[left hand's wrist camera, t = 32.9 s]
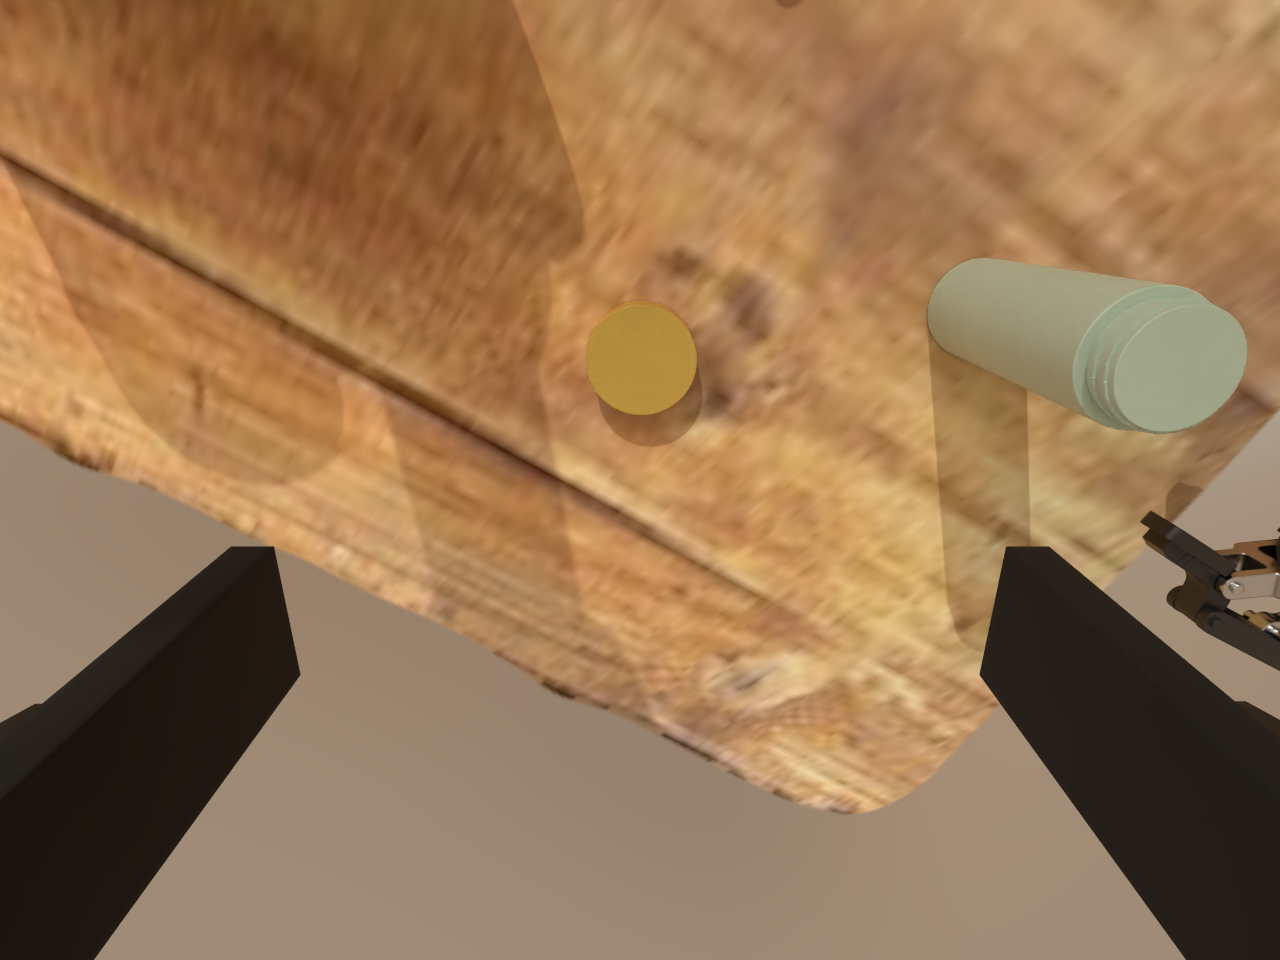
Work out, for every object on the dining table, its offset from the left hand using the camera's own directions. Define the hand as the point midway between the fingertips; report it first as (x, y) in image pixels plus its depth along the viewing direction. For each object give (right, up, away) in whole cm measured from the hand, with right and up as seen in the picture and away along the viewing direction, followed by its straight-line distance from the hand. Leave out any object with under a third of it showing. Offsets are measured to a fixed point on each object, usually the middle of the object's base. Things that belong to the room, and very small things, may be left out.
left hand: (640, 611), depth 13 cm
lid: (0, +9, +23) cm, 24 cm away
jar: (+17, +11, +23) cm, 31 cm away
